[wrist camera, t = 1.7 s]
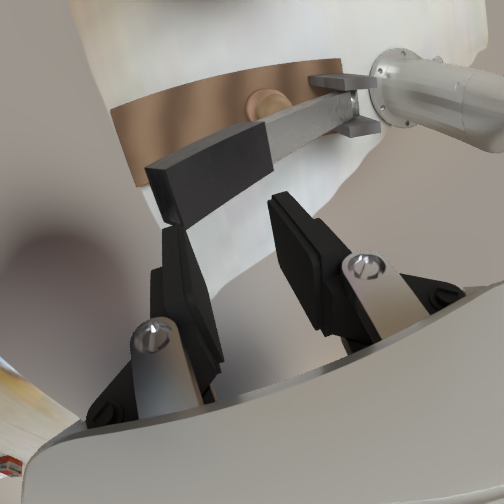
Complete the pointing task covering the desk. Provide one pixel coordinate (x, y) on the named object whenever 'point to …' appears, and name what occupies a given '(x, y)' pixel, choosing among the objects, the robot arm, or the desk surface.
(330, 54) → the desk surface
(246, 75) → the press base
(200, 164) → the lever
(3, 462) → the medicine box
